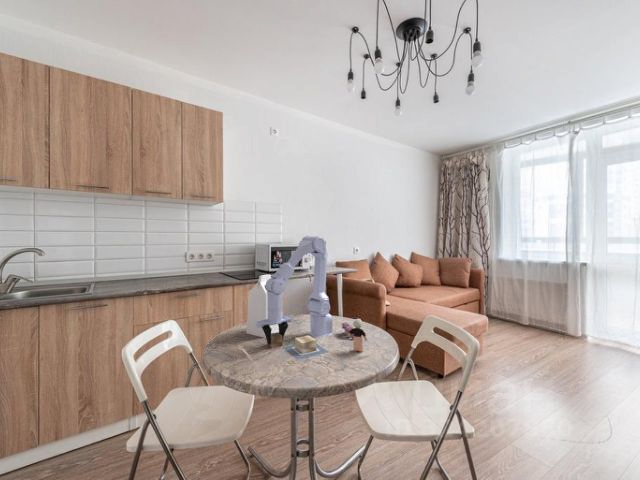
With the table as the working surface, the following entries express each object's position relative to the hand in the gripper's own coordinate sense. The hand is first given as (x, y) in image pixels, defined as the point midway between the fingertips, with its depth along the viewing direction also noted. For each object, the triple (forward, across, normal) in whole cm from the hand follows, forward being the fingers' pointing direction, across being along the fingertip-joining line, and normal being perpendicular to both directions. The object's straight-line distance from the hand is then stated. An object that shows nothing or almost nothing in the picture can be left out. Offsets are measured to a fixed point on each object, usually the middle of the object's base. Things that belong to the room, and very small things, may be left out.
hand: (274, 342), depth 115 cm
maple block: (+1, +8, -10) cm, 13 cm away
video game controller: (+2, +33, -5) cm, 33 cm away
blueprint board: (+2, +8, -10) cm, 13 cm away
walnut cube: (+1, 0, 0) cm, 1 cm away
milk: (+2, +3, +19) cm, 19 cm away
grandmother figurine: (+2, +25, -21) cm, 33 cm away
